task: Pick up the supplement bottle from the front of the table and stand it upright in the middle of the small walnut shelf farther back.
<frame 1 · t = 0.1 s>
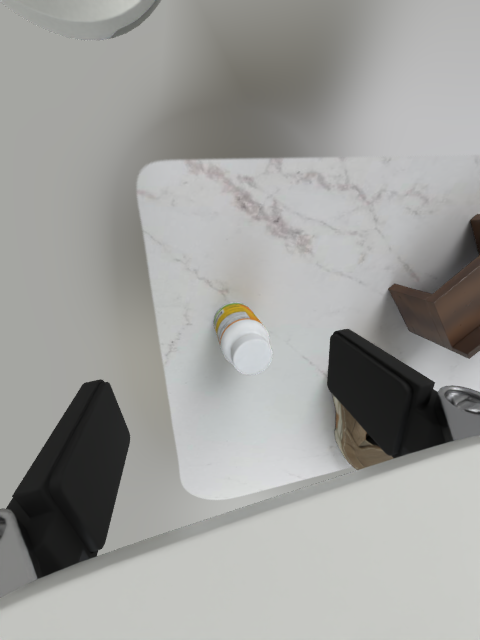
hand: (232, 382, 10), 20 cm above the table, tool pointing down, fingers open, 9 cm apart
shelf: (440, 277, 36), on the table
supplement bottle: (233, 320, 31), on the table
slip on shoe: (356, 410, 44), on the table
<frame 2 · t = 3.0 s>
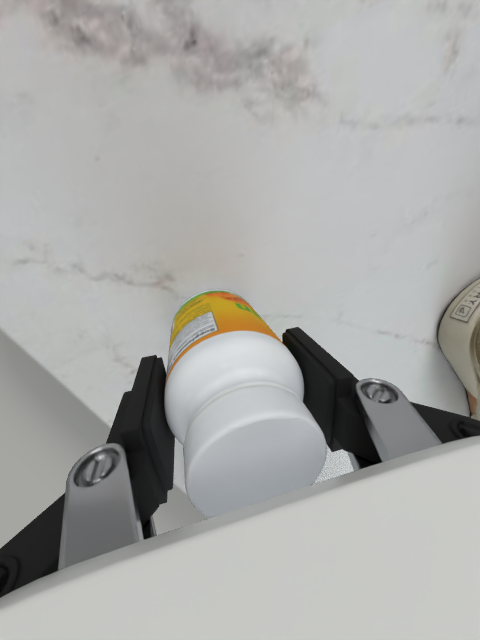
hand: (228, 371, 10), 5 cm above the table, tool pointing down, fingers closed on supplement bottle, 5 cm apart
supplement bottle: (214, 327, 15), on the table, touching gripper
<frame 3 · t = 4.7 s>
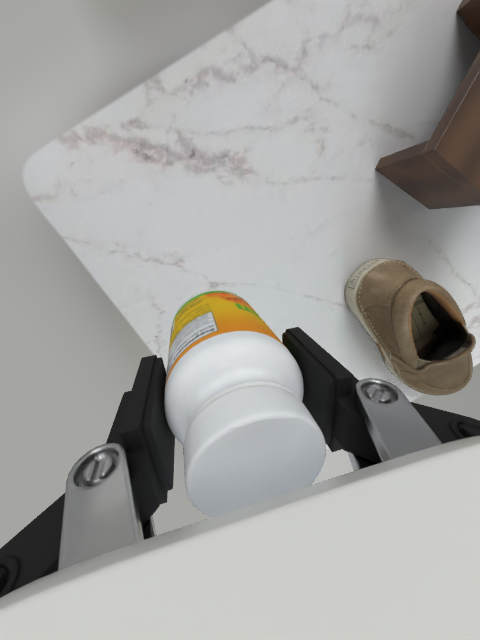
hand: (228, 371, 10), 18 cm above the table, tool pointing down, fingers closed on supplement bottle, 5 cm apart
shelf: (444, 118, 26), on the table
supplement bottle: (214, 327, 15), point 13 cm above the table, touching gripper
slip on shoe: (402, 330, 36), on the table
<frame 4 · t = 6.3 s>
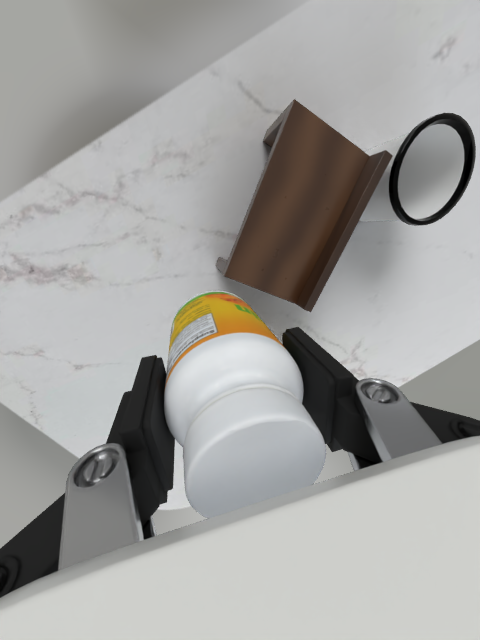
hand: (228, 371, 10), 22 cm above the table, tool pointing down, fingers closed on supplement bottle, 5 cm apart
mug: (375, 182, 31), on the table
shelf: (274, 221, 30), on the table
supplement bottle: (214, 328, 15), point 17 cm above the table, touching gripper
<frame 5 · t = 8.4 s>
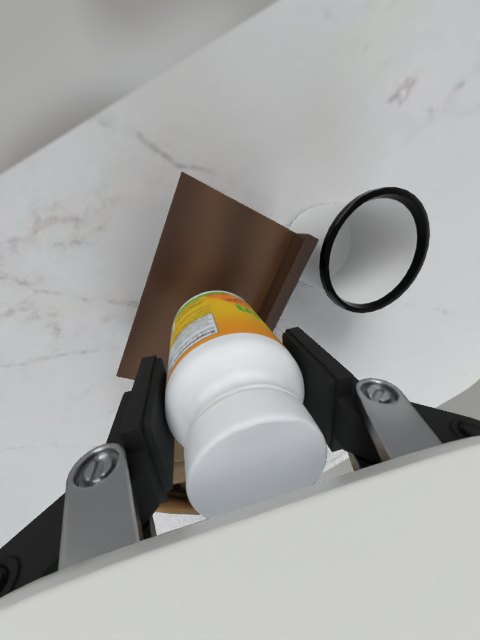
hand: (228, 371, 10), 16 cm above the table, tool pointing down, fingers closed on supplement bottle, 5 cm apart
mug: (325, 240, 26), on the table
shelf: (202, 287, 25), on the table
supplement bottle: (214, 328, 15), point 11 cm above the table, touching gripper
slip on shoe: (228, 455, 35), on the table
when the fingers open (12 cm above the table, at t = 9.9 s): supplement bottle stays where it is, resting on shelf.
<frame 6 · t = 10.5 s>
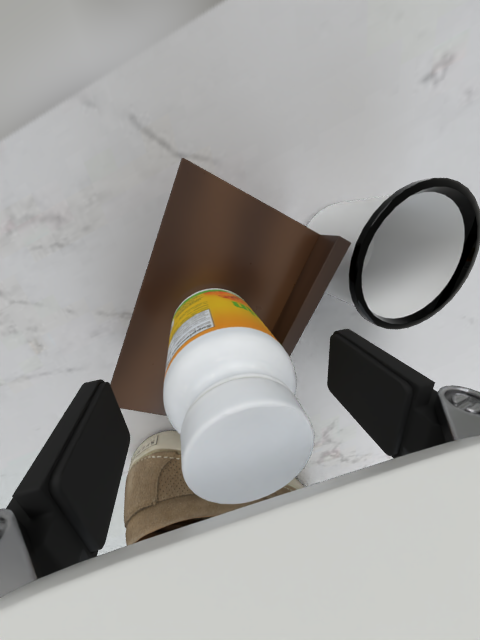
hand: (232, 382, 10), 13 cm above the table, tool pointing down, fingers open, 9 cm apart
mug: (345, 242, 23), on the table
shelf: (205, 296, 22), on the table
supplement bottle: (213, 325, 16), point 7 cm above the table, touching shelf
slip on shoe: (232, 477, 32), on the table
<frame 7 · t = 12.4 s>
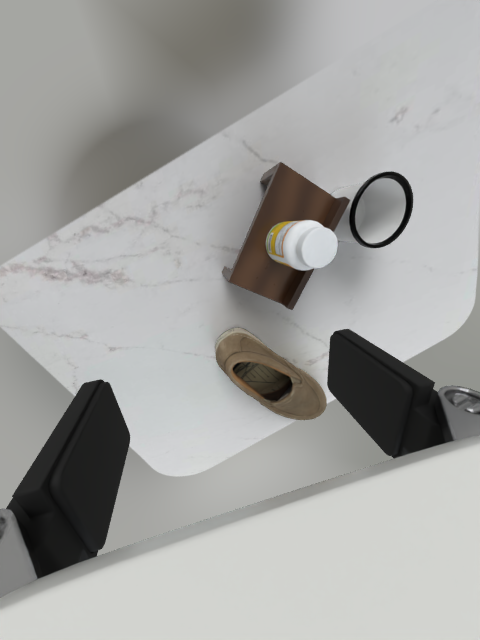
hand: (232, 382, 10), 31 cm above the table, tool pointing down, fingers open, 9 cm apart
mug: (347, 211, 39), on the table
shelf: (268, 239, 38), on the table
supplement bottle: (282, 242, 32), point 7 cm above the table, touching shelf
slip on shoe: (271, 372, 49), on the table
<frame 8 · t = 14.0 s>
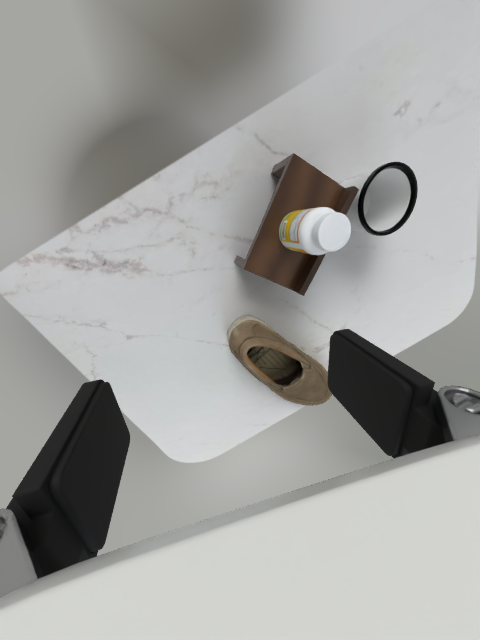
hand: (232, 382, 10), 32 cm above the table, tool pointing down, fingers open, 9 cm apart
mug: (353, 201, 41), on the table
shelf: (278, 229, 40), on the table
supplement bottle: (294, 230, 34), point 7 cm above the table, touching shelf
slip on shoe: (280, 359, 50), on the table
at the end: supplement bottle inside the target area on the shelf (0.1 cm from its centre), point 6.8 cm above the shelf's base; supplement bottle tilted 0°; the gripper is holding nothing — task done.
